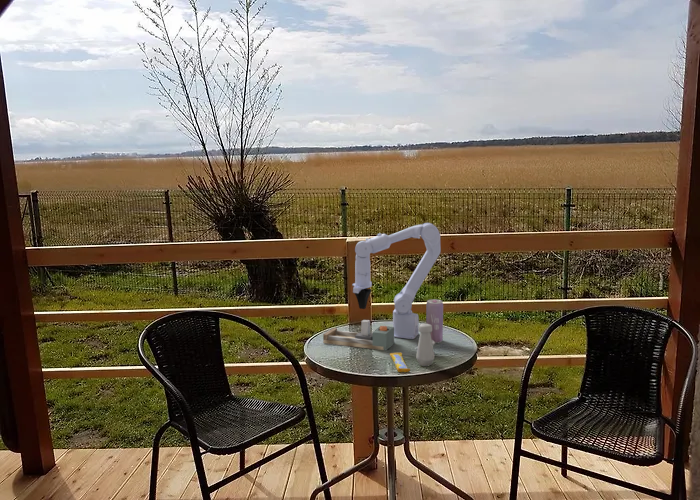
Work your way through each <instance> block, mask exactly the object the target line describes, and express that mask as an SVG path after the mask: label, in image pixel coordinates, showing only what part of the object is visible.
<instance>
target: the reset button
mask: <svg viewBox="0 0 700 500" xmlns="http://www.w3.org/2000/svg"><path fill="white" fill-rule="evenodd" d="M379 327H380V331H387V325H380V326H379Z"/></svg>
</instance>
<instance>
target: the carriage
mask: <svg viewBox="0 0 700 500" xmlns="http://www.w3.org/2000/svg"><path fill="white" fill-rule="evenodd" d="M360 322H361V325H360V327H361V328H360V329H361V331H360V332H357V333H358V334H357V335H355V338H357V339H366V340H373V332H371V320H369V319H363V320H361V321H360Z"/></svg>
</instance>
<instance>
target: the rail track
mask: <svg viewBox="0 0 700 500" xmlns="http://www.w3.org/2000/svg"><path fill="white" fill-rule="evenodd" d="M358 333H359V332H355V331H346V330H338V328H336V327H333V328H331V329H329V330H328V331H327V332H324V333H323V335H322V337H323V338H322V339H323V341H322V342H323V344H328V345H338V346H346V347H353V348H354V347H355V348H363V349H371V350H378V349H379V351H384V350H383V347H381V346H377V347H376V346H373V340H366V339H357V338H355V335H357V334H358ZM373 348H374V349H373ZM380 349H381V350H380Z"/></svg>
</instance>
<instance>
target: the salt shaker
mask: <svg viewBox="0 0 700 500" xmlns="http://www.w3.org/2000/svg"><path fill="white" fill-rule="evenodd" d="M430 332H432V326H431V325H430V324H426V323H421V324H420V323H419V338H418V341H419V343H418V342H417V349H416V355H415V357H416V360H417V362H418V365H419V366H421V365H422V366H421V367H429V366H428V365H431V366H432V363H433V362H434V360H435V355H434V352H435V351H434V345H432V340H431V334H430Z"/></svg>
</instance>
